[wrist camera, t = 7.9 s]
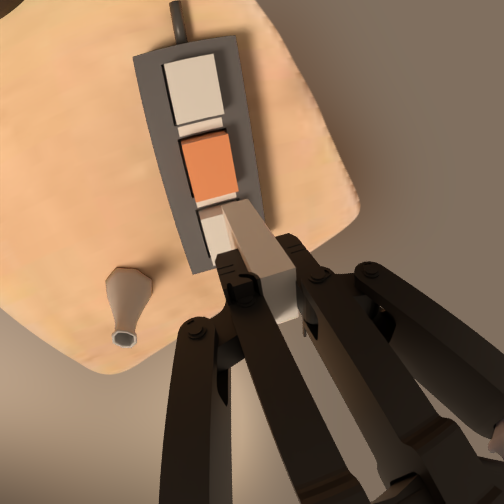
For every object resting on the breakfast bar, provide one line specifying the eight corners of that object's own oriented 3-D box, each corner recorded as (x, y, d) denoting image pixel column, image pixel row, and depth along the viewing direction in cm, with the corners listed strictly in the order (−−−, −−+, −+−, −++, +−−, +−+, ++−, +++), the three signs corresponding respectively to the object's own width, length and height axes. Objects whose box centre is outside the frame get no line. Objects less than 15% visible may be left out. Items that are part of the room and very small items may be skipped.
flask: (100, 297, 37) (91, 349, 29) (112, 259, 34) (101, 311, 26) (144, 310, 40) (144, 362, 32) (160, 275, 38) (161, 328, 30)
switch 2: (180, 138, 27) (181, 145, 24) (220, 129, 27) (228, 134, 24) (192, 189, 30) (195, 202, 27) (230, 179, 31) (238, 191, 28)
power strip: (129, 17, 19) (124, 7, 16) (219, -2, 20) (226, -14, 17) (189, 257, 37) (192, 275, 34) (260, 237, 39) (269, 253, 35)
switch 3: (196, 205, 31) (200, 220, 28) (233, 195, 32) (242, 208, 29) (208, 247, 35) (213, 266, 32) (242, 238, 35) (250, 255, 32)
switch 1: (165, 68, 22) (164, 64, 19) (207, 59, 23) (213, 53, 20) (176, 121, 26) (177, 125, 22) (217, 111, 26) (224, 114, 23)
